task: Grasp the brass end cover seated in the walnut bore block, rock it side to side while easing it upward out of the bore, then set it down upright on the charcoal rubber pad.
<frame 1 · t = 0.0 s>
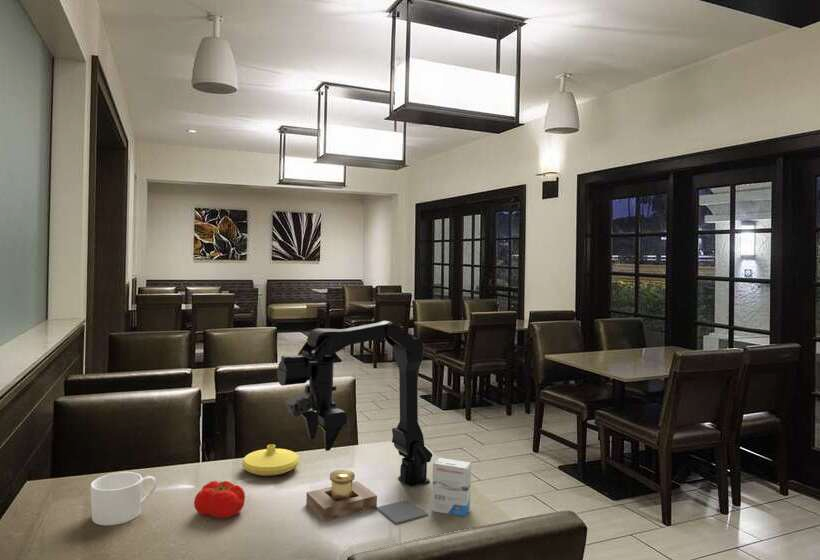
hand: (319, 444, 136), 15 cm above the table, fingers open, 9 cm apart
bore block: (341, 506, 136), on the table
tomato: (220, 513, 131), on the table
yellow flat knobbed disc: (270, 471, 157), on the table
ink box: (450, 510, 136), on the table
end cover: (341, 490, 136), in the bore block
felt pad: (401, 512, 134), on the table
mug: (124, 515, 128), on the table
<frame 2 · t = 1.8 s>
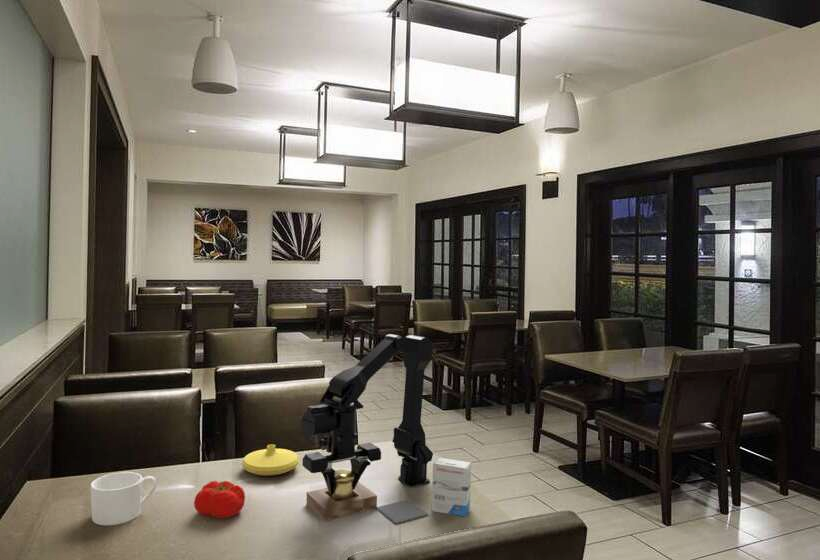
hand: (341, 491, 136), 4 cm above the table, fingers closed on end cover, 5 cm apart
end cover: (341, 490, 136), in the bore block, touching gripper
everything else where it was.
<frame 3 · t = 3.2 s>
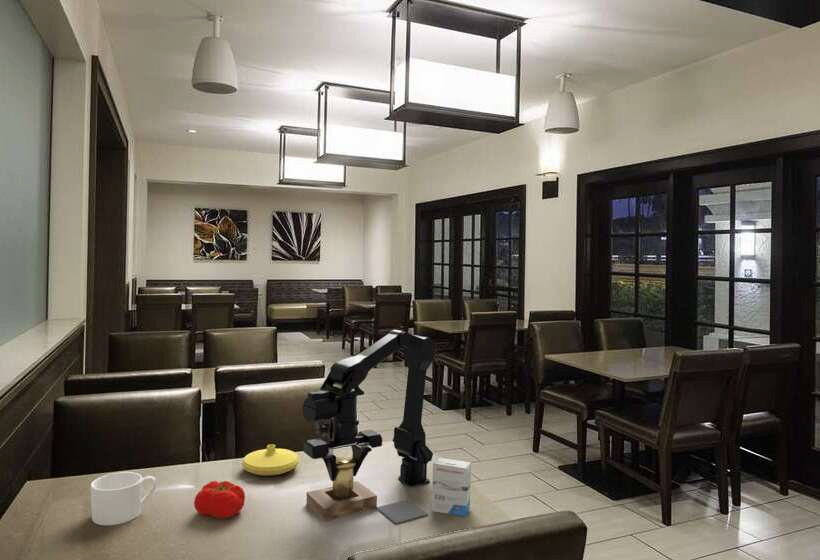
hand: (343, 478, 136), 7 cm above the table, fingers closed on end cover, 5 cm apart
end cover: (343, 476, 136), point 7 cm above the table, touching gripper
everything else where it was.
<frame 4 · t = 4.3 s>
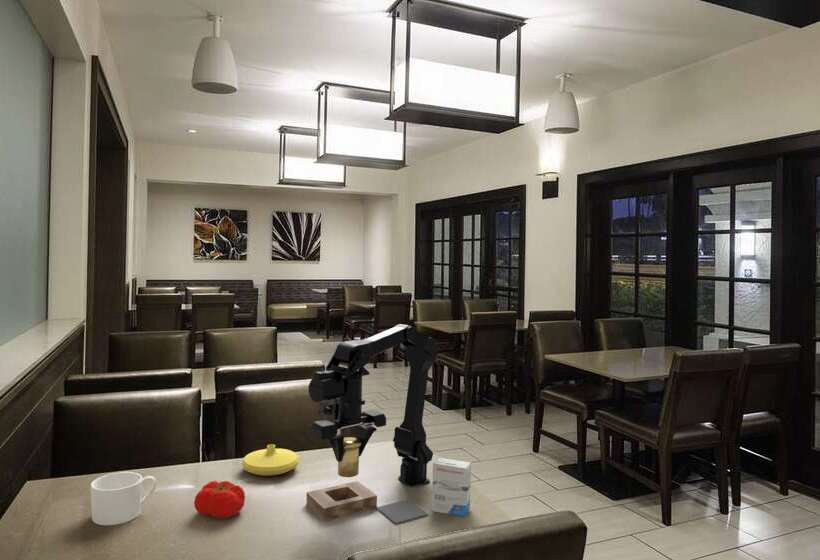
hand: (348, 458, 135), 12 cm above the table, fingers closed on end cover, 5 cm apart
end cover: (348, 457, 135), point 12 cm above the table, touching gripper
everything else where it was.
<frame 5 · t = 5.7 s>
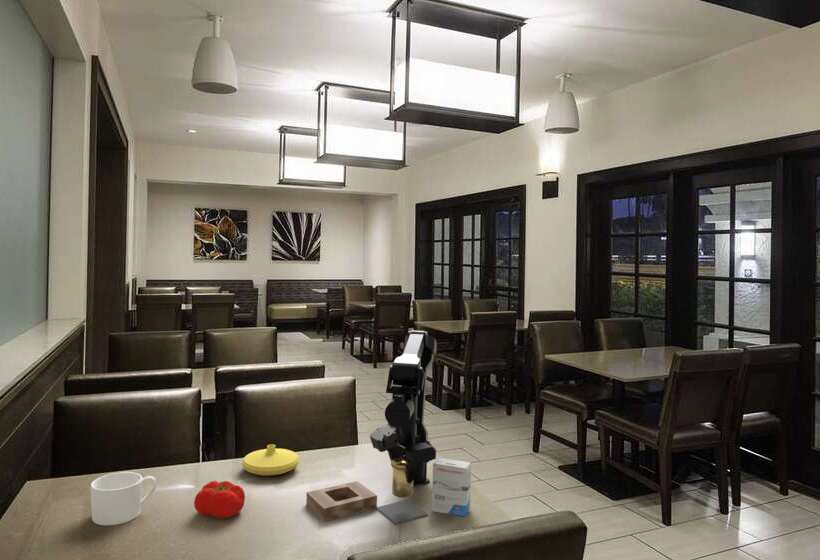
hand: (402, 478, 134), 8 cm above the table, fingers closed on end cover, 5 cm apart
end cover: (403, 477, 134), point 8 cm above the table, touching gripper
everything else where it was.
when the fingers open (5 cm above the table, at t = 6.7 s): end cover drops 1 cm, resting on felt pad.
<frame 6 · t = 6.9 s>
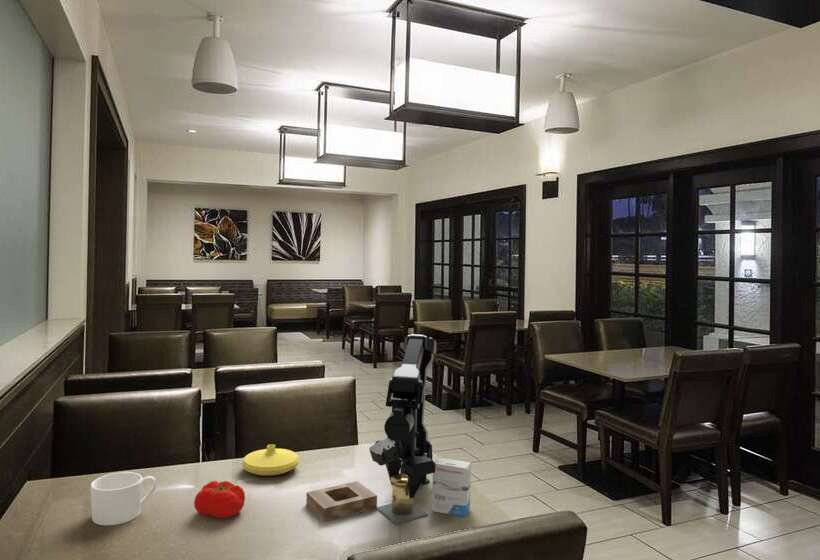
hand: (402, 491, 134), 5 cm above the table, fingers open, 8 cm apart
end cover: (402, 494, 134), on the felt pad
everything else where it was.
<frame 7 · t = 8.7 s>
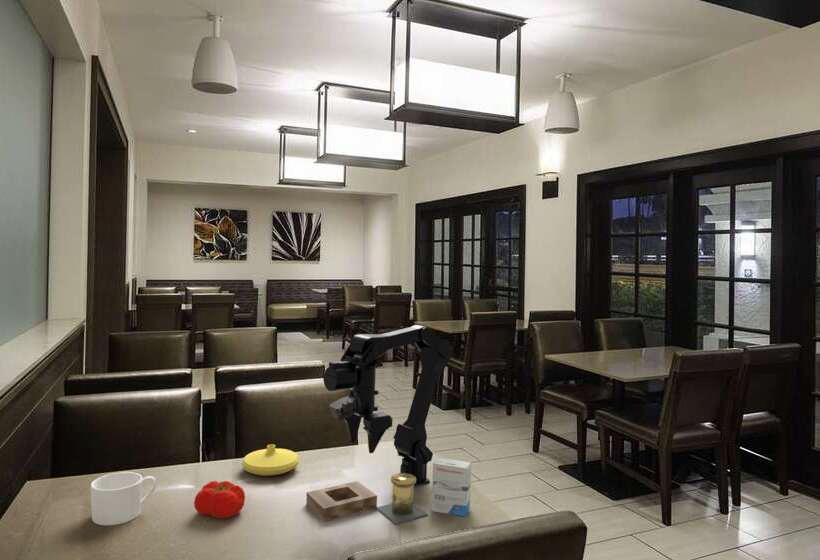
hand: (361, 447, 140), 13 cm above the table, fingers open, 9 cm apart
nothing on the table moved.
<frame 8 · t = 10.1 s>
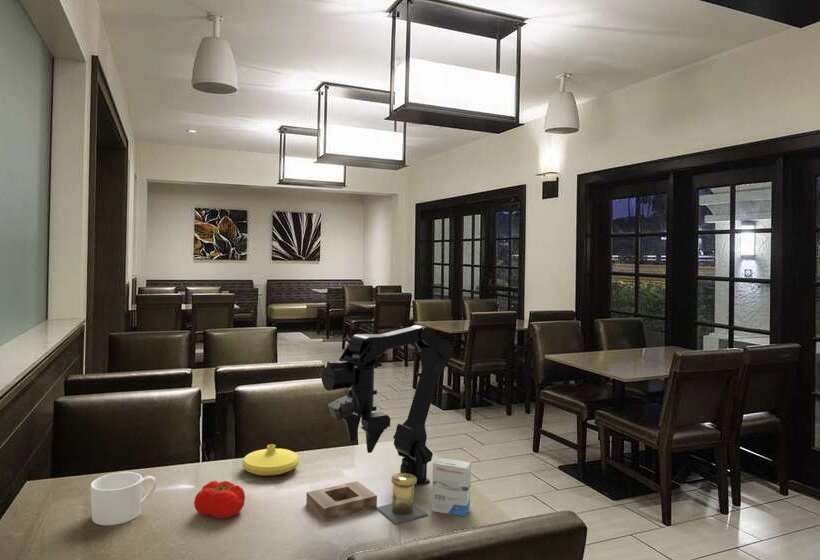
hand: (360, 446, 140), 13 cm above the table, fingers open, 9 cm apart
nothing on the table moved.
at the end: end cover inside the target area on the felt pad (0.1 cm from its centre), point 4.4 cm above the felt pad's base; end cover tilted 2°; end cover touching felt pad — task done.
